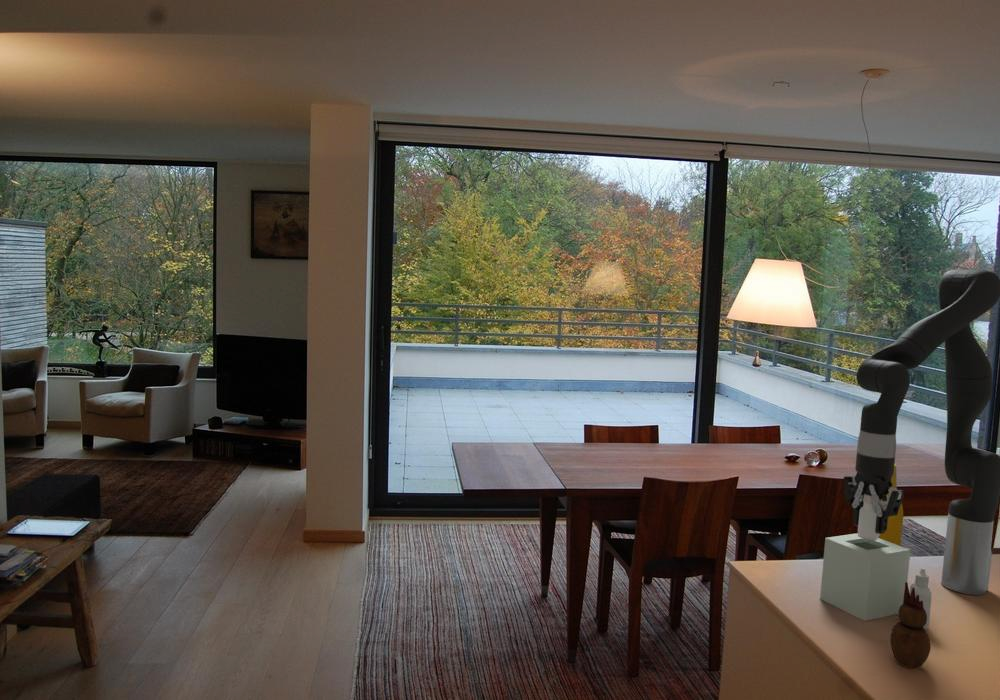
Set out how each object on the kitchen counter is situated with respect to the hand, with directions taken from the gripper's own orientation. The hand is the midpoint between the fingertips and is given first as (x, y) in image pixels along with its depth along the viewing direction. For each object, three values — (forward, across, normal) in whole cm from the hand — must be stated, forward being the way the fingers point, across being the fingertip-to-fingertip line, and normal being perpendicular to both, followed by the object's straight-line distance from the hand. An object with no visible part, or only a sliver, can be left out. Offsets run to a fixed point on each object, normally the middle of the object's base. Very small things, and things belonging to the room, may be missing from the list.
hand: (868, 528), depth 173 cm
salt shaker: (+2, 0, 0) cm, 2 cm away
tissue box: (+17, 0, 0) cm, 17 cm away
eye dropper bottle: (+18, -11, -3) cm, 21 cm away
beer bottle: (+18, +8, -14) cm, 24 cm away
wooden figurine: (+18, -22, +14) cm, 32 cm away
